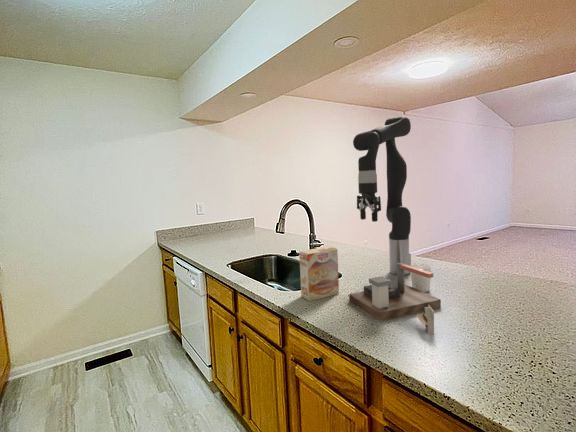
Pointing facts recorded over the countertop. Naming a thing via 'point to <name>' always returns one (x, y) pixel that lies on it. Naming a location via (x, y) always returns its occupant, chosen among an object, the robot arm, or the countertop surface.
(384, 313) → the socket board
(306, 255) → the coffeecake box
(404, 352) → the countertop surface
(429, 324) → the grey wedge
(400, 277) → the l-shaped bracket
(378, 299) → the plug
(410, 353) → the countertop surface
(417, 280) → the white cup
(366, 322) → the countertop surface
